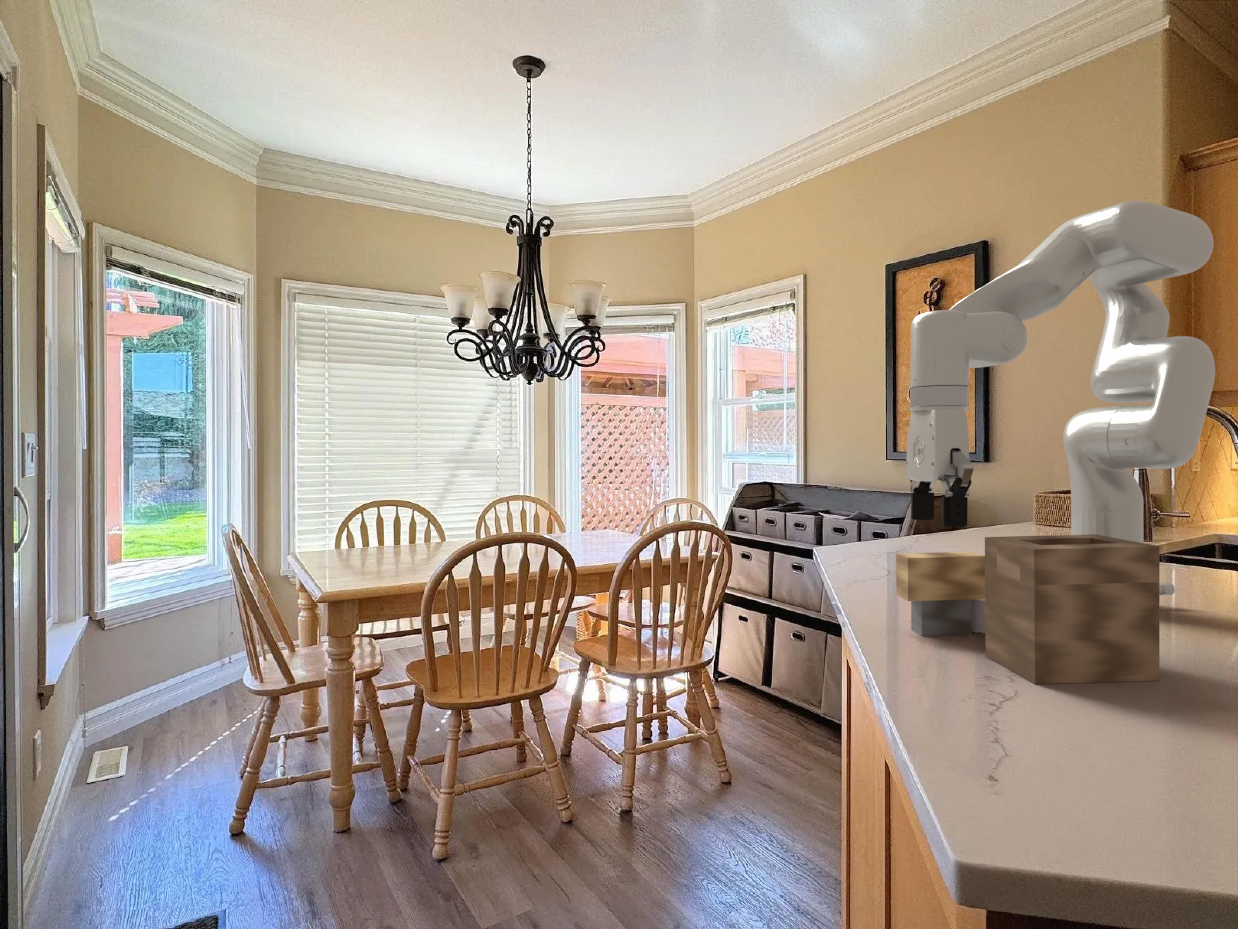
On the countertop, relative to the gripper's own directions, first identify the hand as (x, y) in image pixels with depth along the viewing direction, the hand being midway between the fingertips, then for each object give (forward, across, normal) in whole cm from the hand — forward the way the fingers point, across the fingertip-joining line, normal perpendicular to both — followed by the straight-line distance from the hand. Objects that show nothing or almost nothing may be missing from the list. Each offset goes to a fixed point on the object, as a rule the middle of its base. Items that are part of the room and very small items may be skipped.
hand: (937, 523), depth 102 cm
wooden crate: (+16, +17, +8) cm, 24 cm away
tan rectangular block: (+16, 0, +1) cm, 16 cm away
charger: (+16, -4, +13) cm, 20 cm away
